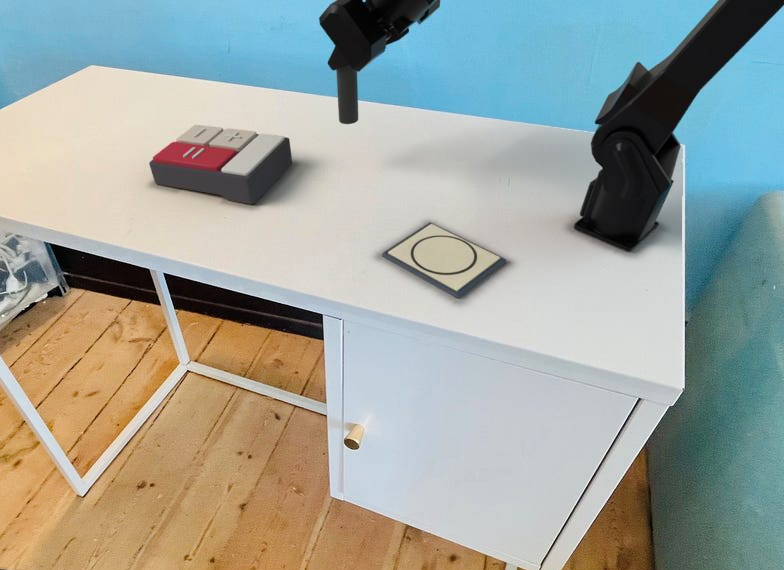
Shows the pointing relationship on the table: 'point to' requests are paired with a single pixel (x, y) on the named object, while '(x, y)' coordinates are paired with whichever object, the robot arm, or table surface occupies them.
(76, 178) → the table surface
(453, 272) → the coaster
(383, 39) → the robot arm
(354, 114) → the dot marker
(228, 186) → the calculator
